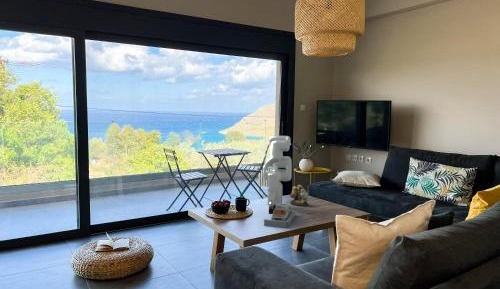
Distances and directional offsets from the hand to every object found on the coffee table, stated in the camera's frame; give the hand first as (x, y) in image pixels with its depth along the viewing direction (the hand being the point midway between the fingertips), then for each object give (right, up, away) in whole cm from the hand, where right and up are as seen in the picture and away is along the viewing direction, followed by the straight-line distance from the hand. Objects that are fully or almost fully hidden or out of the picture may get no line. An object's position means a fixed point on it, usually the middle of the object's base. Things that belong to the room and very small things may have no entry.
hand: (272, 212), depth 275 cm
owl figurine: (+26, -2, +44) cm, 51 cm away
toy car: (+7, -6, -1) cm, 9 cm away
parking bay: (+6, -6, -1) cm, 8 cm away
